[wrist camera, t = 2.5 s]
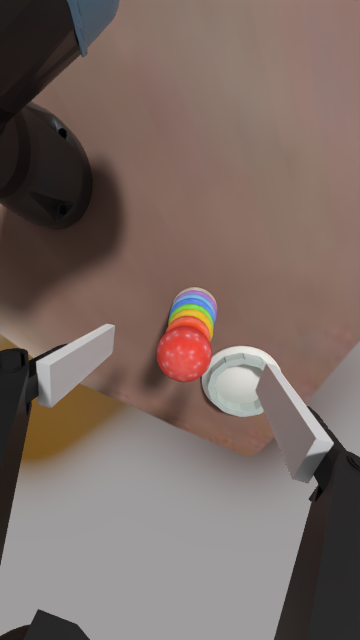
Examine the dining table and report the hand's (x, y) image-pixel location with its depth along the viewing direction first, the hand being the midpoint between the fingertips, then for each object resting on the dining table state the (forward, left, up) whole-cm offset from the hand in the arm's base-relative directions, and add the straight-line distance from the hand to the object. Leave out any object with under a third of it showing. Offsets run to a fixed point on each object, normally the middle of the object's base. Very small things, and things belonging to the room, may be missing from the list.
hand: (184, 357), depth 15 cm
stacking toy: (0, 0, -18) cm, 18 cm away
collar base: (+12, -12, -17) cm, 24 cm away
